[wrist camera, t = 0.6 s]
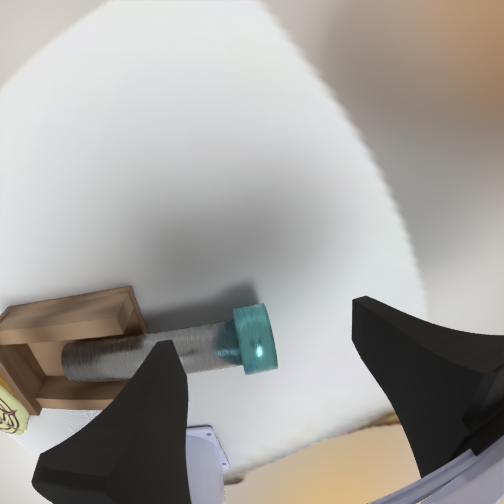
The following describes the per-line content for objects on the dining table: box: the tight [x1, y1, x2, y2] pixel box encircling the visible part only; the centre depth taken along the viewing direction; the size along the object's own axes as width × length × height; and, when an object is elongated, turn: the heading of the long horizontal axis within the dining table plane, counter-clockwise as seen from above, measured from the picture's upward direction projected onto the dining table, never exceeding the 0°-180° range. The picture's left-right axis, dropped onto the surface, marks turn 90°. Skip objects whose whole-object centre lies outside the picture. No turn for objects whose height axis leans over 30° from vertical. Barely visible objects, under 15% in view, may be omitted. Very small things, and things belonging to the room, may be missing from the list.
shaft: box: [61, 303, 278, 383], centre depth 18 cm, size 14×4×4 cm, turn 98°
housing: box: [0, 286, 149, 416], centre depth 18 cm, size 13×8×5 cm, turn 98°
